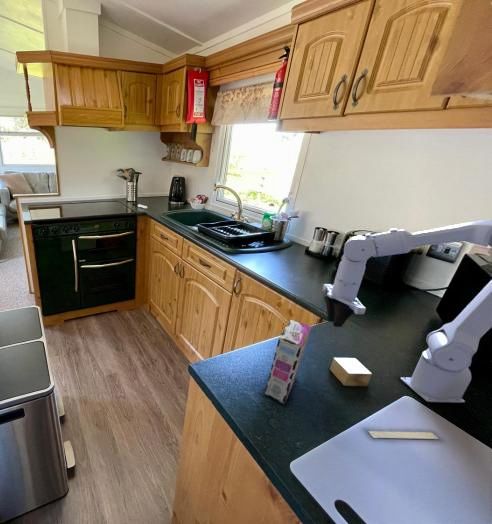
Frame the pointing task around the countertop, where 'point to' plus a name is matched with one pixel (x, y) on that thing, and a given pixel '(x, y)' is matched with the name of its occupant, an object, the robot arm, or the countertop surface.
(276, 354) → the candy bar box
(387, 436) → the tape line
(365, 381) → the maple block
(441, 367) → the robot arm
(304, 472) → the countertop surface
